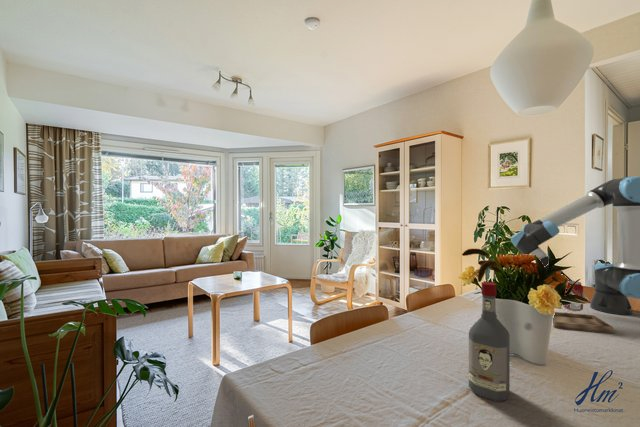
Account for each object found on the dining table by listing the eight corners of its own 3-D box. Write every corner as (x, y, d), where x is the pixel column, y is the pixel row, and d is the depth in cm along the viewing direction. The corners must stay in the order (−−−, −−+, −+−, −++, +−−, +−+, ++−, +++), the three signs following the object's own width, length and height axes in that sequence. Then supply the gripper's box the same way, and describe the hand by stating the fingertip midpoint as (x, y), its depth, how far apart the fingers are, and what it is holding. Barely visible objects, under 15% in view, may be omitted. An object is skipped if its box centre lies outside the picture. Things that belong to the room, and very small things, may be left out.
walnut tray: (593, 320, 137) (593, 315, 137) (613, 333, 122) (613, 327, 122) (541, 316, 143) (541, 310, 143) (554, 327, 129) (554, 321, 129)
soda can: (583, 313, 128) (583, 284, 128) (562, 309, 132) (563, 282, 132) (582, 308, 134) (582, 281, 133) (562, 305, 138) (562, 279, 137)
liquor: (474, 378, 91) (474, 278, 91) (510, 389, 85) (510, 282, 85) (466, 392, 84) (466, 284, 83) (505, 405, 78) (505, 289, 78)
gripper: (543, 263, 151) (584, 304, 137) (523, 267, 140) (565, 312, 127) (556, 253, 146) (599, 295, 133) (536, 257, 136) (582, 302, 122)
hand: (583, 303), depth 130 cm, fingers closed on soda can, 7 cm apart
